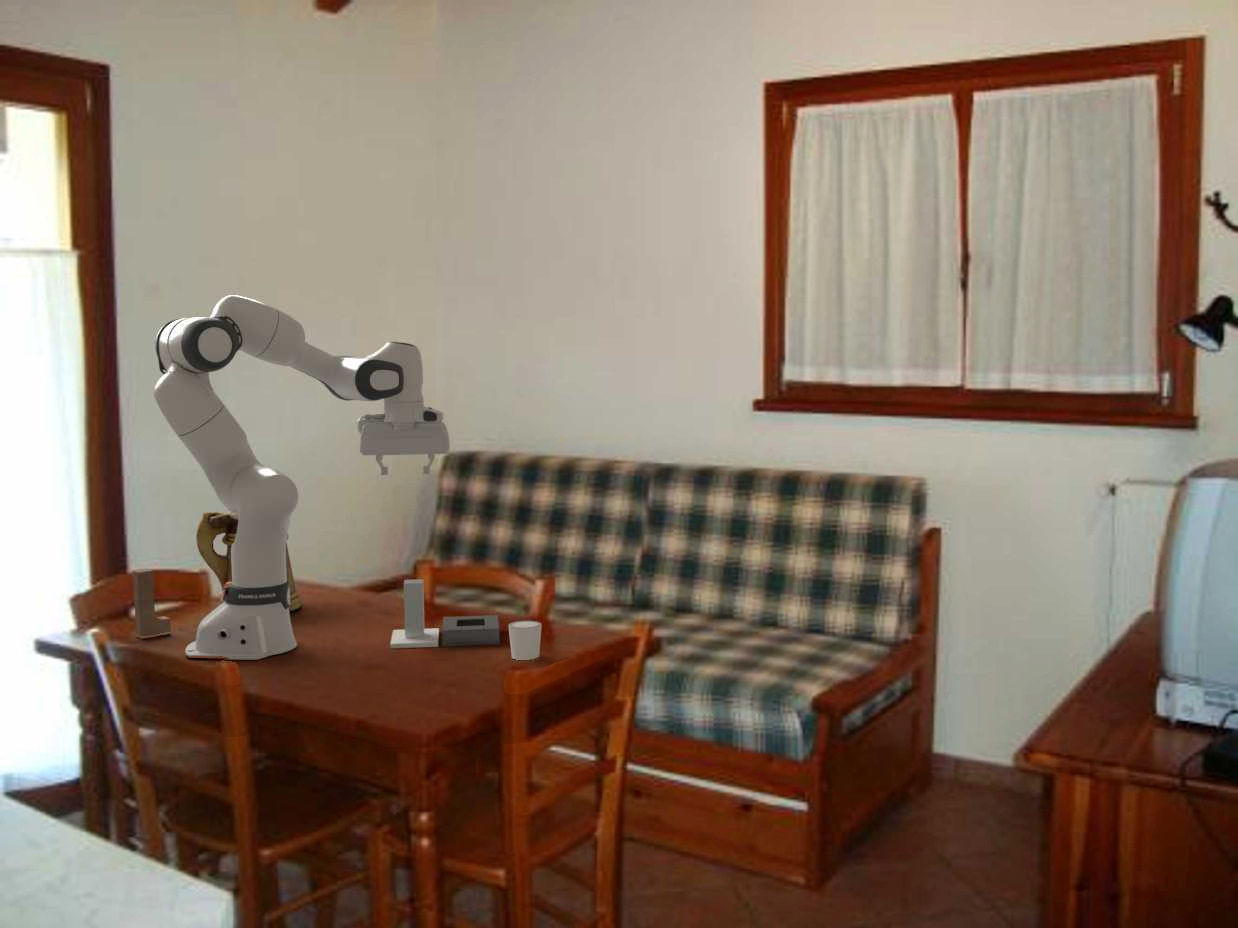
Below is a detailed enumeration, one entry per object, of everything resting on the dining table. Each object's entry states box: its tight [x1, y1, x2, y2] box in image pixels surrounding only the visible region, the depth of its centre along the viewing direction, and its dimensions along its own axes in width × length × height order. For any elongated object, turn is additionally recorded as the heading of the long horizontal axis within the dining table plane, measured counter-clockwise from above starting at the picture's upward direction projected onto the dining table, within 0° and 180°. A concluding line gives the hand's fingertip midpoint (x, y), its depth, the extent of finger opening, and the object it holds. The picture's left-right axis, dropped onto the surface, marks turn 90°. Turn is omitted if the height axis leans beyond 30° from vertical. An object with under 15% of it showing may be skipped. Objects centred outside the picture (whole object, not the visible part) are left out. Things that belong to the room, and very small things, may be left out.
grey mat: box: [389, 627, 440, 649], centre depth 267 cm, size 10×12×1 cm
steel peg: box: [403, 578, 425, 638], centre depth 266 cm, size 4×4×12 cm
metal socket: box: [442, 614, 501, 647], centre depth 268 cm, size 12×12×4 cm
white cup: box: [507, 620, 542, 661], centre depth 253 cm, size 7×7×7 cm
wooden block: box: [132, 567, 172, 636], centre depth 271 cm, size 7×3×15 cm, turn 131°
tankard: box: [196, 511, 302, 613], centre depth 293 cm, size 18×24×25 cm
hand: (405, 474), depth 280 cm, fingers open, 8 cm apart
